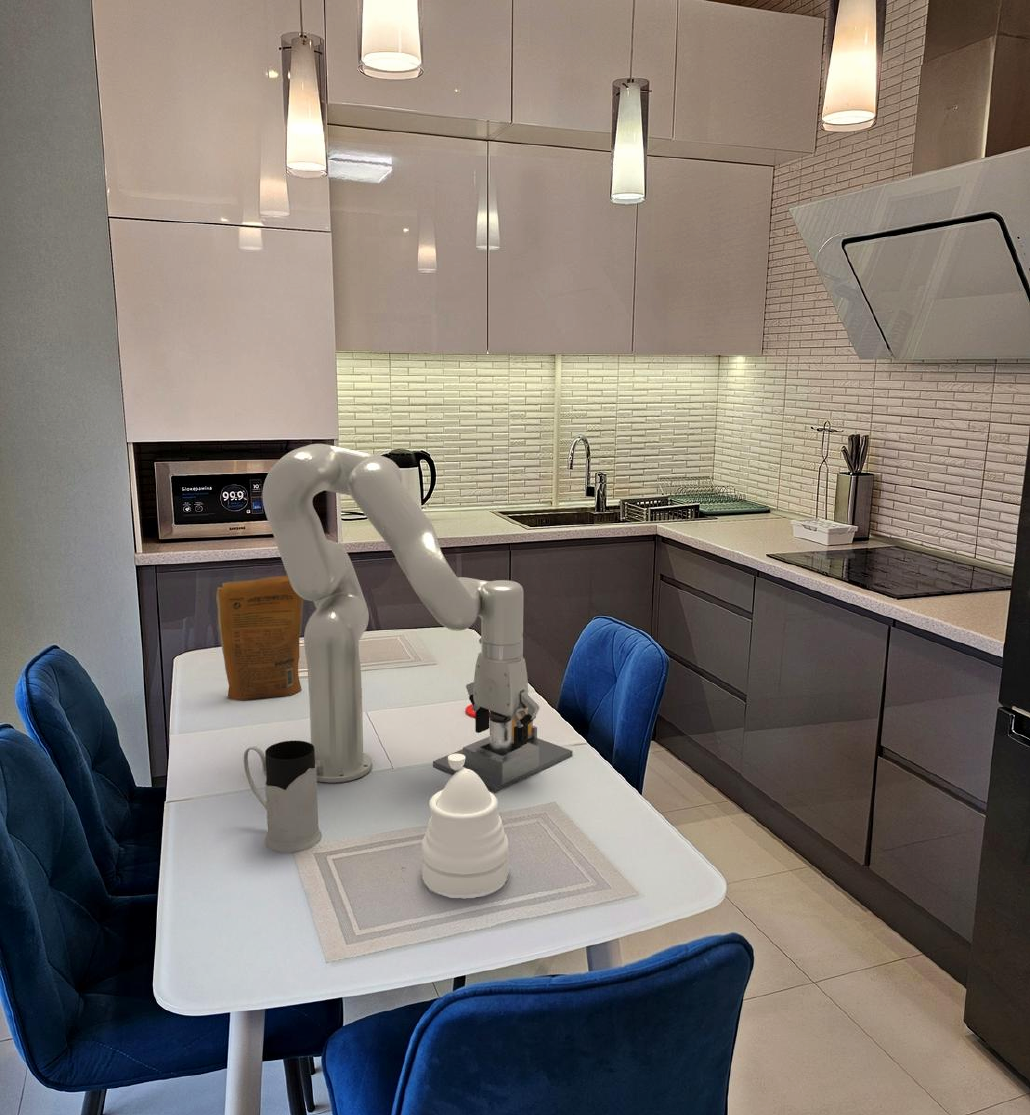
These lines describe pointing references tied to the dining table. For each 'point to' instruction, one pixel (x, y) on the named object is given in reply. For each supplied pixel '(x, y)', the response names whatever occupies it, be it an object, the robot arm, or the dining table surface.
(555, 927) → the dining table surface
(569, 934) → the dining table surface
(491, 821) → the honey pot
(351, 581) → the robot arm
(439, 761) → the plate
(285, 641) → the pancake mix bag
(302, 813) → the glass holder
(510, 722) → the pin
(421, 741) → the dining table surface
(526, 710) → the tab
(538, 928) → the dining table surface
